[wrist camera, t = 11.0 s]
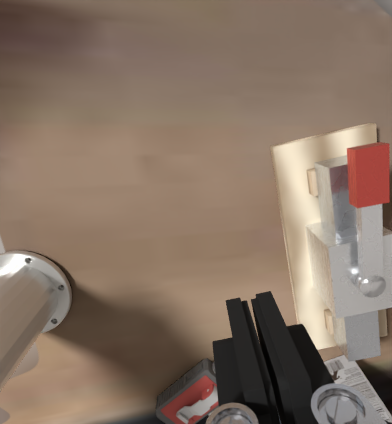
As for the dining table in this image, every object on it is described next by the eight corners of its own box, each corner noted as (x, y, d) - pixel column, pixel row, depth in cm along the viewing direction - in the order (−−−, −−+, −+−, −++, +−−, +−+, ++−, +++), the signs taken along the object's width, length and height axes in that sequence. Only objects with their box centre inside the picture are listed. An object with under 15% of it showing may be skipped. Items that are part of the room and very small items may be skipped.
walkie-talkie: (187, 428, 52) (280, 359, 48) (187, 456, 48) (288, 382, 44) (148, 399, 50) (242, 324, 46) (145, 425, 46) (247, 345, 42)
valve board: (300, 344, 47) (307, 359, 44) (269, 146, 38) (276, 148, 35) (381, 328, 46) (393, 343, 44) (368, 123, 38) (383, 124, 35)
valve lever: (346, 148, 30) (355, 150, 28) (378, 141, 30) (389, 143, 28) (352, 292, 34) (360, 301, 33) (380, 287, 34) (389, 296, 33)
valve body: (319, 334, 45) (342, 373, 38) (297, 163, 37) (320, 174, 31) (368, 324, 44) (400, 362, 38) (355, 150, 37) (392, 158, 30)
